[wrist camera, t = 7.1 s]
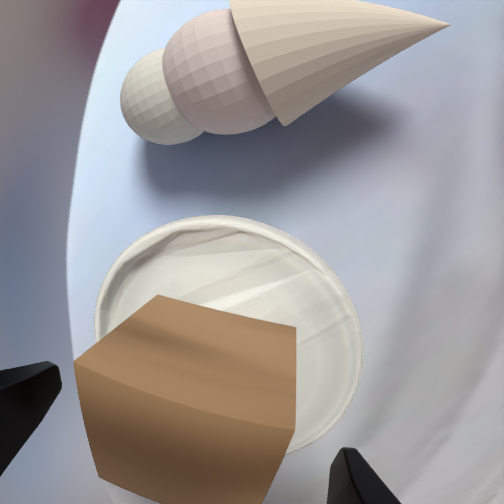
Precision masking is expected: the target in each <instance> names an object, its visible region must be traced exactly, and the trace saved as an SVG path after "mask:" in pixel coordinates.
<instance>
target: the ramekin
mask: <svg viewBox="0 0 504 504" xmlns="http://www.w3.org/2000/svg"><path fill="white" fill-rule="evenodd" d="M156 295H162V296H166V297H169V298H173V299H177V300H180V301H184V302H188V303H192V304H196V305H200V306H204V307H208V308H212V309H216V310H220V311H224V312H229V313H233V314H237V315H241V316H246V317H250V318H255V319H259V320H264V321H269V322H273V323H278V324H283V325H288V326H293V327H296V424H295V432H294V435H293V437H292V439H291V442H290V444H289V446H288V449H287V451H286V453H285V454H287V453H290V452H293V451H296V450H298V449H300V448H303V447H305V446H307V445H309V444H311V443H312V442H314V441H315V440H316V439H318V438H320V437H322V436H323V435H324V434H326V433H327V432H328V431H329V430H330V429H331V428H332V427H333V426H334V425H335V424H336V423H337V422H338V420H339V419H340V418H341V416H342V415H343V414H344V412H345V411H346V409H347V408H348V406H349V405H350V403H351V401H352V400H353V397H354V395H355V393H356V391H357V388H358V385H359V382H360V378H361V373H362V367H363V338H362V332H361V328H360V324H359V320H358V317H357V314H356V311H355V308H354V306H353V304H352V302H351V299H350V297H349V295H348V293H347V292H346V290H345V288H344V286H343V285H342V283H341V281H340V280H339V278H338V277H337V276H336V274H335V273H334V272H333V271H332V269H331V268H330V267H329V266H328V265H327V264H326V263H325V262H324V261H323V260H322V259H321V257H319V256H318V255H317V254H316V253H315V252H314V251H313V250H311V249H310V248H309V247H308V246H306V245H305V244H304V243H302V242H301V241H299V240H298V239H296V238H295V237H293V236H291V235H289V234H288V233H286V232H284V231H282V230H279V229H277V228H275V227H272V226H270V225H267V224H264V223H261V222H258V221H255V220H251V219H247V218H242V217H236V216H227V215H206V216H197V217H190V218H185V219H180V220H177V221H174V222H170V223H167V224H165V225H162V226H160V227H158V228H156V229H154V230H152V231H150V232H148V233H146V234H145V235H143V236H141V237H140V238H138V239H137V240H136V241H134V242H133V243H132V244H131V245H130V246H128V247H127V248H126V249H125V250H124V251H123V252H122V253H121V254H120V255H119V256H118V258H117V259H116V260H115V262H114V263H113V265H112V266H111V268H110V269H109V271H108V273H107V275H106V277H105V279H104V281H103V284H102V286H101V289H100V292H99V295H98V299H97V303H96V310H95V317H94V326H95V338H96V343H97V342H98V341H99V340H101V339H102V338H103V337H104V336H106V335H107V334H108V333H109V332H111V331H112V330H113V329H114V328H116V327H117V326H118V325H119V324H121V323H122V322H123V321H124V320H126V319H127V318H128V317H130V316H131V315H132V314H133V313H135V312H136V311H137V310H138V309H140V308H141V307H142V306H143V305H145V304H146V303H147V302H149V301H150V300H151V299H152V298H154V297H155V296H156Z"/></svg>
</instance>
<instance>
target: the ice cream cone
mask: <svg viewBox="0 0 504 504" xmlns="http://www.w3.org/2000/svg"><path fill="white" fill-rule="evenodd" d="M229 3H230V8H231V9H221V10H214V11H210V12H207V13H204V14H201V15H199V16H197V17H195V18H193V19H192V20H190V21H188V22H187V23H186V24H184V25H183V26H182V27H181V28H180V29H179V30H178V31H177V32H176V33H175V34H174V35H173V36H172V38H171V39H170V41H169V42H168V43H167V45H166V48H162V49H158V50H156V51H154V52H151V53H149V54H147V55H145V56H144V57H143V58H141V59H140V60H139V61H138V62H137V63H136V64H135V65H134V66H133V67H132V68H131V69H130V70H129V72H128V74H127V76H126V78H125V80H124V82H123V85H122V89H121V94H120V103H121V110H122V114H123V116H124V119H125V121H126V122H127V124H128V125H129V127H130V128H131V129H132V130H133V131H134V132H135V133H136V134H137V135H139V136H140V137H142V138H143V139H145V140H148V141H150V142H153V143H156V144H163V145H175V144H180V143H184V142H187V141H190V140H192V139H194V138H196V137H198V136H199V135H201V134H202V133H203V132H204V131H205V132H209V133H214V134H221V135H227V134H239V133H243V132H248V131H252V130H254V129H256V128H259V127H261V126H263V125H265V124H266V123H268V122H269V121H271V120H272V119H274V118H275V117H277V118H278V120H279V121H280V122H281V124H282V125H283V126H287V125H289V124H290V123H292V122H293V121H294V120H296V119H297V118H299V117H300V116H301V115H303V114H304V113H306V112H307V111H309V110H310V109H311V108H313V107H314V106H316V105H317V104H319V103H320V102H322V101H323V100H325V99H326V98H328V97H329V96H331V95H332V94H334V93H335V92H337V91H338V90H340V89H341V88H343V87H344V86H346V85H347V84H349V83H350V82H352V81H354V80H355V79H357V78H358V77H360V76H361V75H363V74H365V73H366V72H368V71H370V70H371V69H373V68H374V67H376V66H378V65H379V64H381V63H383V62H384V61H386V60H388V59H389V58H391V57H393V56H395V55H396V54H398V53H400V52H401V51H403V50H405V49H407V48H408V47H410V46H412V45H414V44H416V43H417V42H419V41H421V40H423V39H425V38H427V37H428V36H430V35H432V34H434V33H436V32H438V31H440V30H442V29H444V28H446V27H448V26H450V24H447V23H444V22H441V21H438V20H435V19H432V18H429V17H426V16H422V15H419V14H415V13H412V12H408V11H404V10H400V9H396V8H392V7H387V6H382V5H377V4H372V3H367V2H361V1H355V0H229Z"/></svg>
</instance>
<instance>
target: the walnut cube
mask: <svg viewBox="0 0 504 504" xmlns="http://www.w3.org/2000/svg"><path fill="white" fill-rule="evenodd" d="M74 370H75V377H76V383H77V389H78V395H79V400H80V405H81V410H82V415H83V420H84V424H85V429H86V433H87V437H88V441H89V445H90V448H91V452H92V456H93V459H94V462H95V466H96V469H97V472H98V476H99V477H100V478H102V479H104V480H106V481H108V482H110V483H112V484H114V485H117V486H119V487H121V488H123V489H126V490H128V491H130V492H133V493H135V494H138V495H140V496H143V497H145V498H148V499H151V500H153V501H156V502H159V503H162V504H262V502H263V500H264V498H265V496H266V494H267V492H268V490H269V488H270V486H271V484H272V482H273V479H274V477H275V475H276V473H277V471H278V469H279V467H280V464H281V462H282V460H283V458H284V455H285V453H286V451H287V449H288V446H289V444H290V442H291V439H292V437H293V435H294V432H295V424H296V327H293V326H288V325H283V324H278V323H273V322H269V321H264V320H259V319H255V318H250V317H246V316H241V315H237V314H233V313H229V312H224V311H220V310H216V309H212V308H208V307H204V306H200V305H196V304H192V303H188V302H184V301H180V300H177V299H173V298H169V297H166V296H162V295H156V296H155V297H154V298H152V299H151V300H150V301H149V302H147V303H146V304H145V305H143V306H142V307H141V308H140V309H138V310H137V311H136V312H135V313H133V314H132V315H131V316H130V317H128V318H127V319H126V320H124V321H123V322H122V323H121V324H119V325H118V326H117V327H116V328H114V329H113V330H112V331H111V332H109V333H108V334H107V335H106V336H104V337H103V338H102V339H101V340H99V341H98V342H97V343H96V344H95V345H93V346H92V347H91V348H90V349H88V350H87V351H86V352H85V353H83V354H82V355H81V356H80V357H79V358H77V359H76V360H75V361H74Z"/></svg>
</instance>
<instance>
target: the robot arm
mask: <svg viewBox="0 0 504 504" xmlns="http://www.w3.org/2000/svg"><path fill="white" fill-rule="evenodd" d="M61 388H62V381H61V377H60V371H59V367H58V366H57V365H55V364H54V363H52V362H50V361H44V362H40V363H35V364H31V365H26V366H21V367H16V368H11V369H5V370H0V476H1V475H2V473H3V472H4V471H5V469H6V468H7V466H8V465H9V464H10V462H11V461H12V459H13V458H14V457H15V456H16V454H17V453H18V452H19V450H20V449H21V448H22V446H23V445H24V444H25V442H26V441H27V440H28V438H29V437H30V436H31V434H32V433H33V432H34V430H35V429H36V428H37V427H38V425H39V424H40V423H41V421H42V420H43V418H44V417H45V415H46V413H47V412H48V410H49V409H50V407H51V405H52V404H53V402H54V400H55V399H56V397H57V396H58V394H59V393H60V391H61ZM327 504H401V503H400V501H399V500H398V499H397V498H396V497H395V496H394V494H393V493H392V492H391V491H390V490H389V488H388V487H387V486H386V485H385V484H384V482H383V481H382V480H381V479H380V478H379V476H378V475H377V474H376V473H375V471H374V470H373V469H372V468H371V467H370V465H369V464H368V463H367V462H366V460H365V459H364V458H363V457H362V455H361V454H360V453H359V452H358V451H357V449H355V448H348V447H343V448H341V449H340V450H339V452H338V454H337V456H336V457H335V459H334V461H333V462H332V464H331V467H330V476H329V487H328V498H327Z"/></svg>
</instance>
